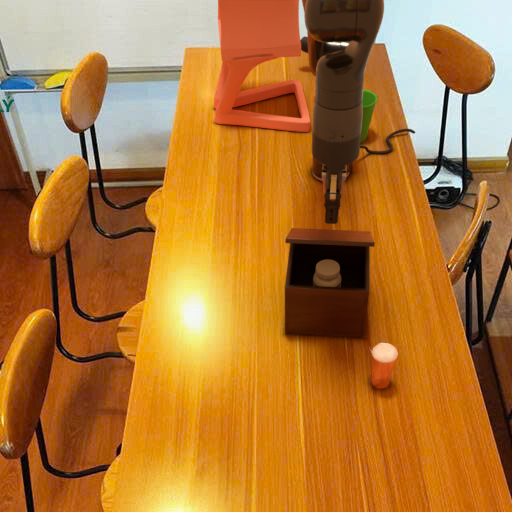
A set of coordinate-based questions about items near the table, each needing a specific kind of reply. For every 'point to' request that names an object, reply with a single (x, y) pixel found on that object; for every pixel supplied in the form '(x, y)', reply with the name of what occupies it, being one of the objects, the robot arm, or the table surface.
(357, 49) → the robot arm
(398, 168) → the table surface
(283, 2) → the chair
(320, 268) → the pill bottle
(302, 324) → the chest
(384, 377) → the milkshake
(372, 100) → the cup
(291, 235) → the lid
